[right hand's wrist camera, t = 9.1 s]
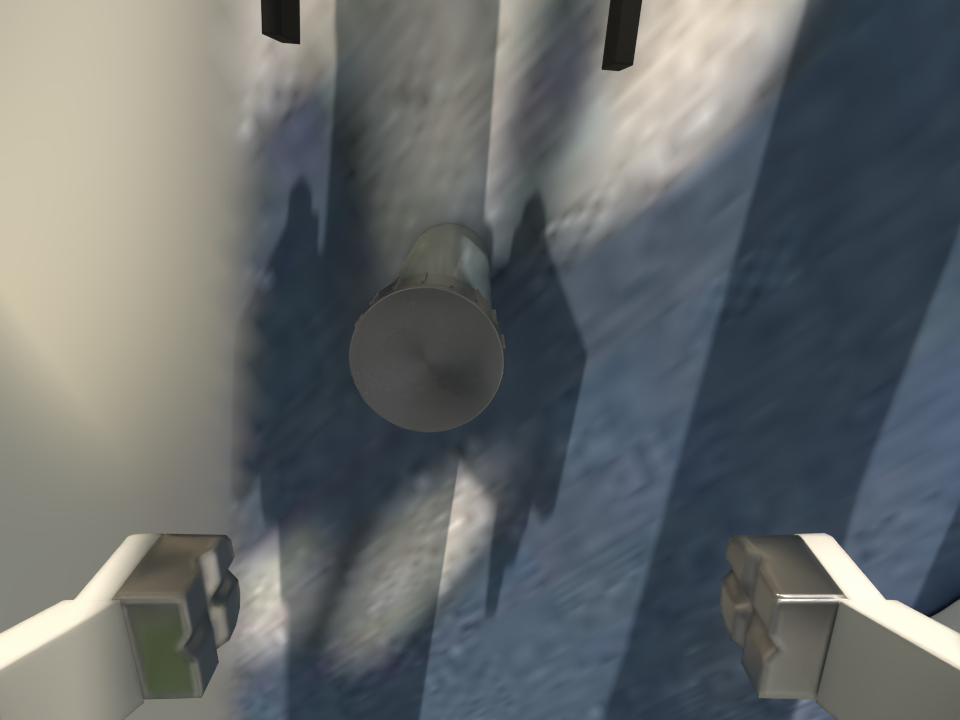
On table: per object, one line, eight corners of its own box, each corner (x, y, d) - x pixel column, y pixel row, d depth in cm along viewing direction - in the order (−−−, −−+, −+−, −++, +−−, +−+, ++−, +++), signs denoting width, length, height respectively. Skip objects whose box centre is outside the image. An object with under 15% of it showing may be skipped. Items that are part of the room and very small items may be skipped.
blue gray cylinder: (497, 234, 35) (510, 309, 20) (478, 310, 37) (477, 432, 22) (419, 214, 35) (373, 276, 20) (402, 291, 36) (348, 403, 22)
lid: (521, 291, 22) (524, 306, 20) (484, 424, 23) (484, 449, 22) (373, 254, 21) (363, 266, 20) (346, 393, 23) (334, 416, 21)
